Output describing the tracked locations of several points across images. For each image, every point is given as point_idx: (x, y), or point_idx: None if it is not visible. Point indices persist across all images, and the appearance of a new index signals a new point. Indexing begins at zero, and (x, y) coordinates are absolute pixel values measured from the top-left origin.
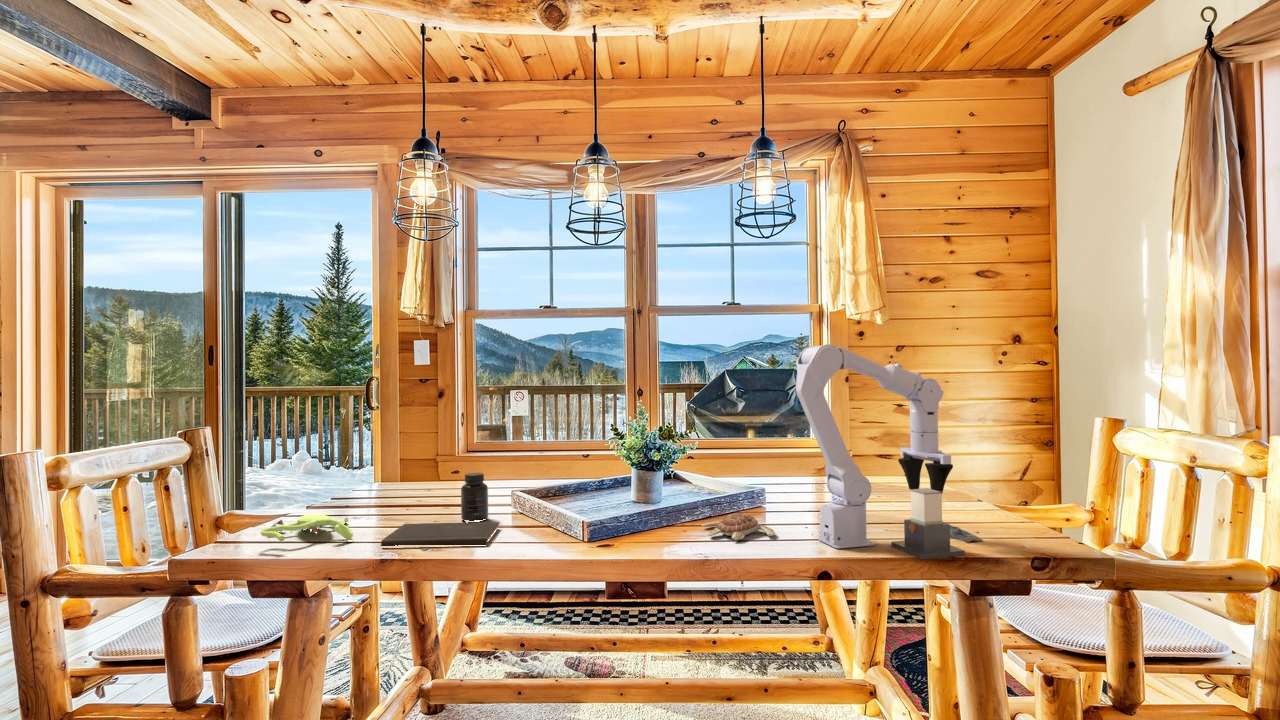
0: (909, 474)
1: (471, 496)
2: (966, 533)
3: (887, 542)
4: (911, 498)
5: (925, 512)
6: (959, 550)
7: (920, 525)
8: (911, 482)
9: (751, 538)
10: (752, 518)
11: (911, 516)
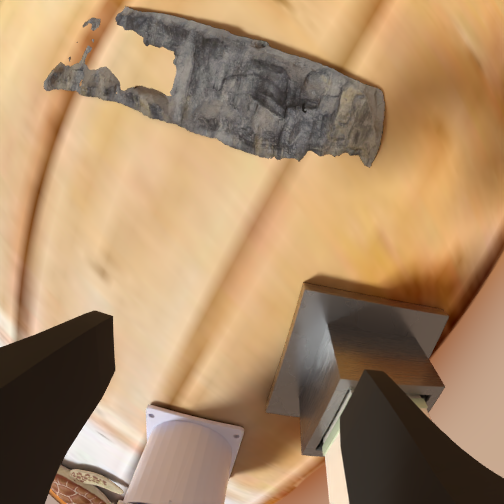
0: (57, 451)
1: None
2: (306, 77)
3: (227, 382)
4: None
5: None
6: (439, 328)
7: None
8: (90, 399)
9: None
10: (73, 491)
11: (326, 458)
